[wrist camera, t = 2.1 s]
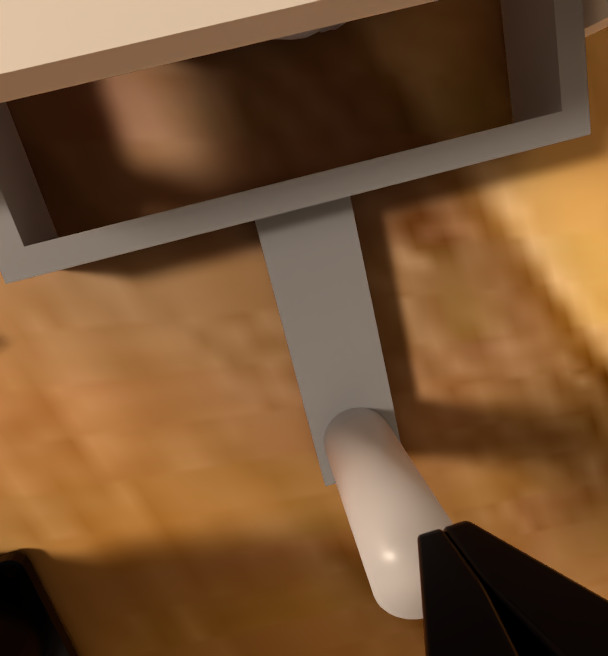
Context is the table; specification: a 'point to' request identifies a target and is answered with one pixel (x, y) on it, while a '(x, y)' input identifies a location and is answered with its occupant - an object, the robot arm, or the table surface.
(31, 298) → the table surface
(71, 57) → the white miniature table
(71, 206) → the table surface
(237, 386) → the table surface
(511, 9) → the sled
